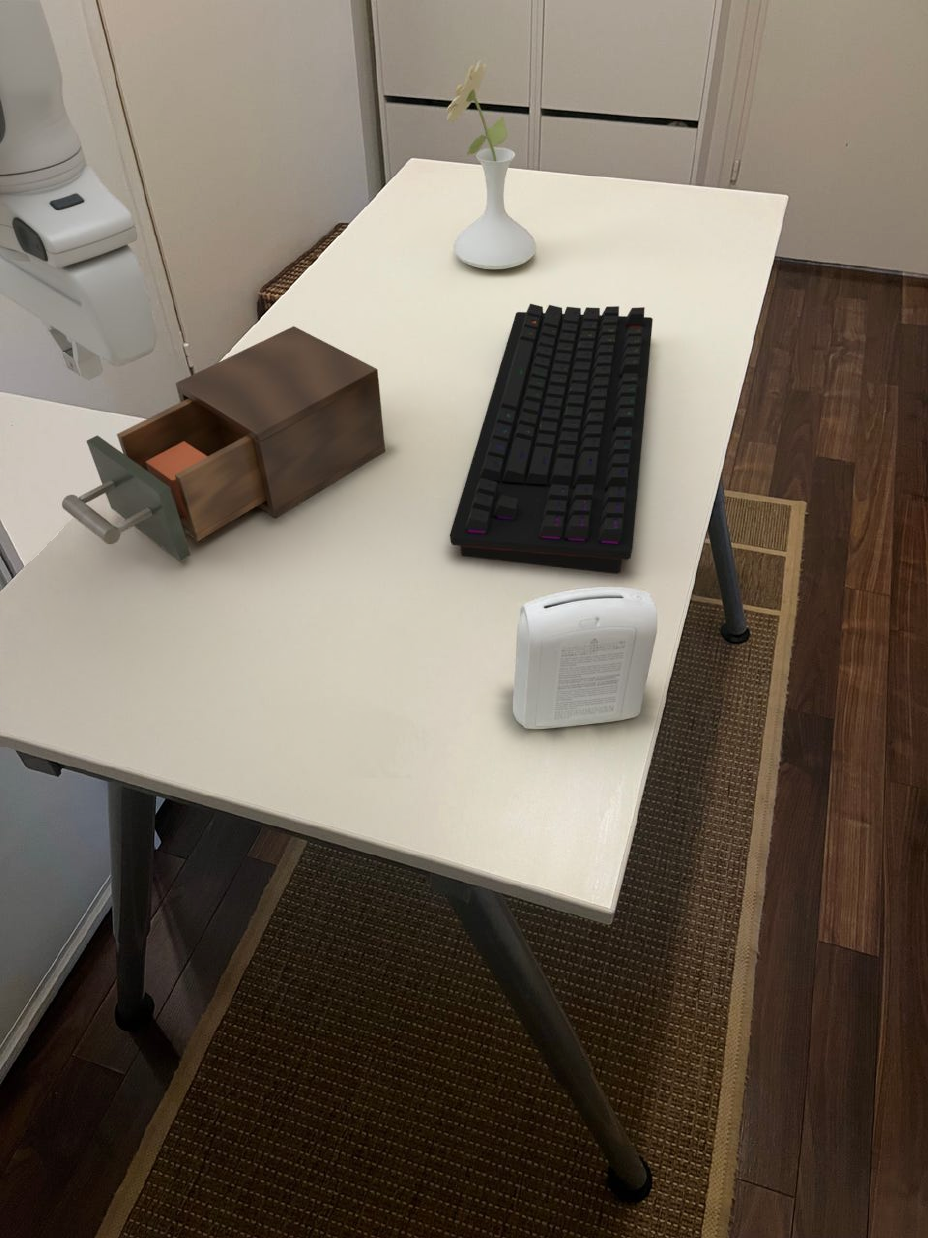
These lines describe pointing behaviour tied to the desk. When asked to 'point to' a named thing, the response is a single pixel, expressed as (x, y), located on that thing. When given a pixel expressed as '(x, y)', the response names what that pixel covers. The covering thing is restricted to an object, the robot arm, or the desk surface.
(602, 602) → the photo printer
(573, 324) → the keyboard
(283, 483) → the cabinet
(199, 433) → the drawer
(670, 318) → the desk surface
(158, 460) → the block
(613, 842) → the desk surface
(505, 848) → the desk surface
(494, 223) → the flower in vase
